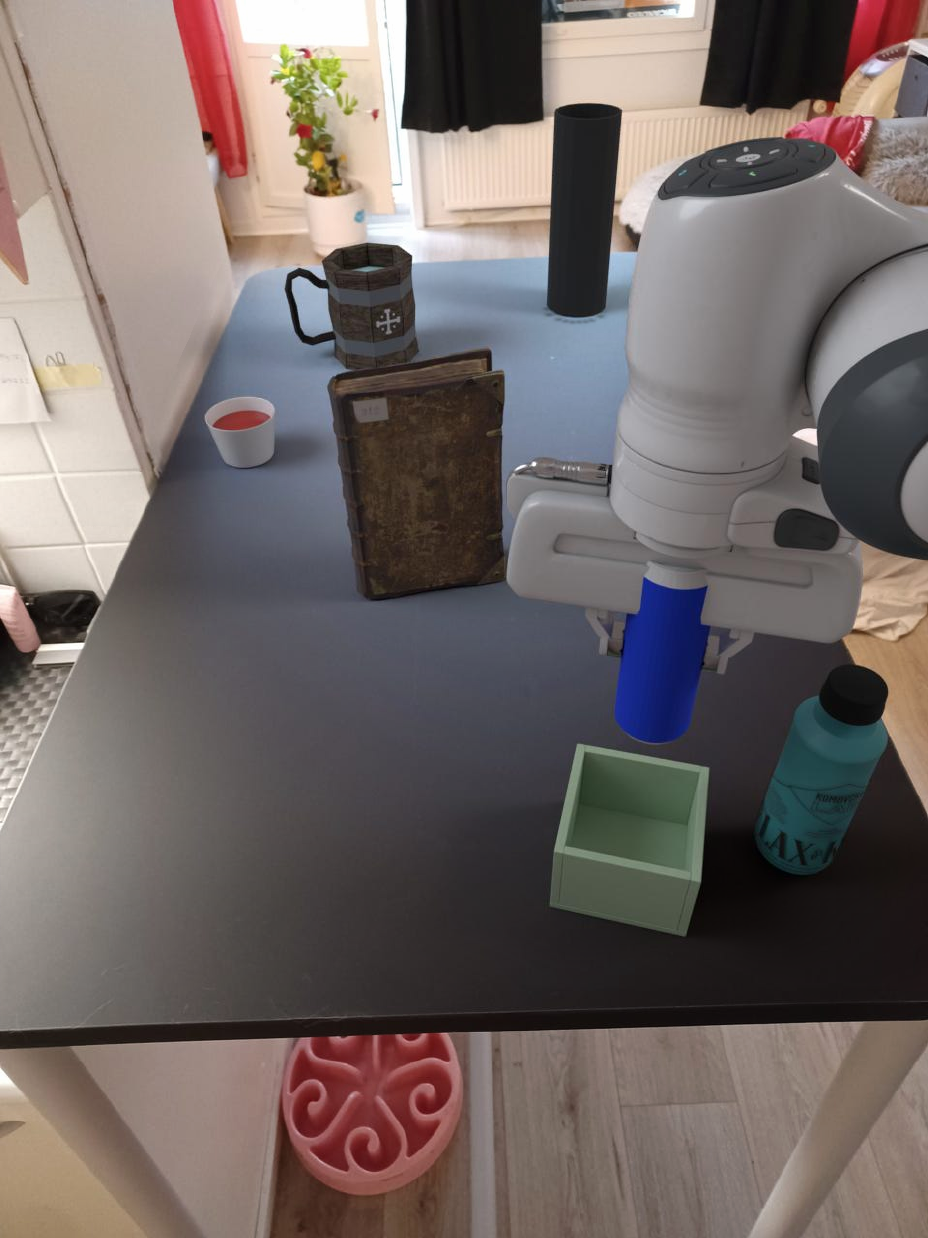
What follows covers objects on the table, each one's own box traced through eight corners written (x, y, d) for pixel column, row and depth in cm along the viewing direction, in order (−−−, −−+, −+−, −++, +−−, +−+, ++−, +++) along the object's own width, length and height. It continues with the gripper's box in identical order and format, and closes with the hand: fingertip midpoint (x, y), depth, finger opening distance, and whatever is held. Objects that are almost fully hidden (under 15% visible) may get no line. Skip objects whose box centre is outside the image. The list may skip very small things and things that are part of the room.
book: (356, 603, 96) (327, 393, 80) (352, 563, 102) (324, 359, 85) (507, 585, 98) (509, 376, 81) (496, 547, 103) (495, 343, 87)
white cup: (201, 464, 118) (190, 422, 114) (241, 433, 124) (232, 391, 120) (257, 479, 115) (248, 436, 111) (295, 446, 121) (288, 404, 117)
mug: (416, 332, 147) (410, 239, 137) (420, 369, 137) (414, 272, 127) (298, 339, 146) (283, 247, 136) (293, 377, 136) (277, 280, 126)
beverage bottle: (732, 834, 73) (785, 662, 60) (799, 809, 75) (866, 637, 62) (779, 900, 69) (848, 730, 55) (850, 872, 70) (933, 701, 57)
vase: (577, 322, 149) (589, 122, 129) (534, 305, 154) (540, 111, 134) (618, 305, 153) (636, 110, 133) (575, 288, 159) (587, 99, 139)
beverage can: (700, 711, 62) (738, 538, 52) (671, 760, 59) (707, 586, 49) (632, 683, 64) (656, 512, 54) (601, 730, 61) (620, 558, 51)
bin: (695, 824, 74) (709, 767, 69) (685, 937, 67) (701, 882, 62) (571, 800, 76) (577, 743, 71) (549, 907, 69) (553, 851, 64)
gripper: (493, 484, 48) (494, 665, 57) (897, 534, 44) (827, 721, 53) (518, 426, 52) (515, 602, 62) (886, 466, 48) (824, 649, 57)
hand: (662, 658), depth 57 cm, fingers closed on beverage can, 5 cm apart
